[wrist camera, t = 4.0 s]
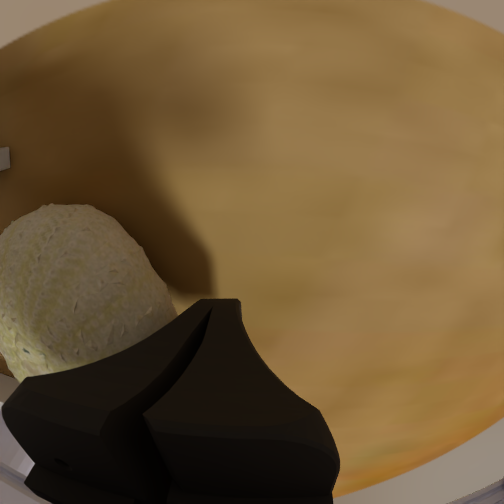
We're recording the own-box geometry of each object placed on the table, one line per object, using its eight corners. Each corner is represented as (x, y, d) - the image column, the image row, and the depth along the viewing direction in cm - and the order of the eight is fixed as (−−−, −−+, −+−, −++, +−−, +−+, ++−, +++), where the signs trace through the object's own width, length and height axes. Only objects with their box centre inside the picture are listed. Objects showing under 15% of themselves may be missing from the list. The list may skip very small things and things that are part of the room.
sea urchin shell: (5, 359, 12) (-90, 332, 5) (61, 239, 15) (6, 148, 8) (149, 441, 12) (124, 497, 5) (202, 303, 16) (224, 236, 9)
